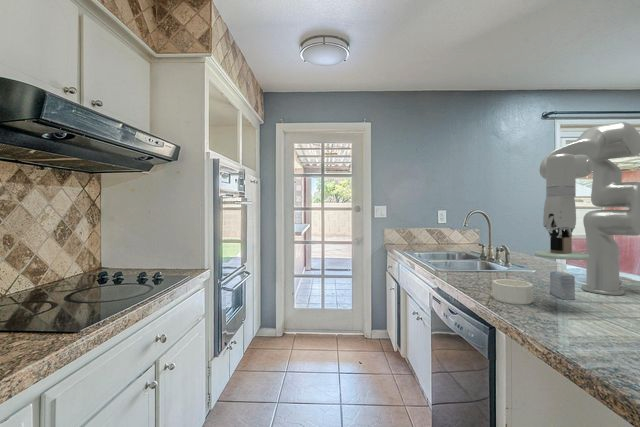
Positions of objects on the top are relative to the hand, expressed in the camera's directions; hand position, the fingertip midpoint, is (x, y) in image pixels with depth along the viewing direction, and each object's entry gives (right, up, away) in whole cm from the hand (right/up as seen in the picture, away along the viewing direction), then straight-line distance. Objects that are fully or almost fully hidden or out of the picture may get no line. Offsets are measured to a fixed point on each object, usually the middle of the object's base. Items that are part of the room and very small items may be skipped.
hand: (560, 249), depth 102 cm
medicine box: (+11, -19, +14) cm, 27 cm away
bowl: (-9, -19, +11) cm, 24 cm away
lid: (0, -2, 0) cm, 2 cm away
